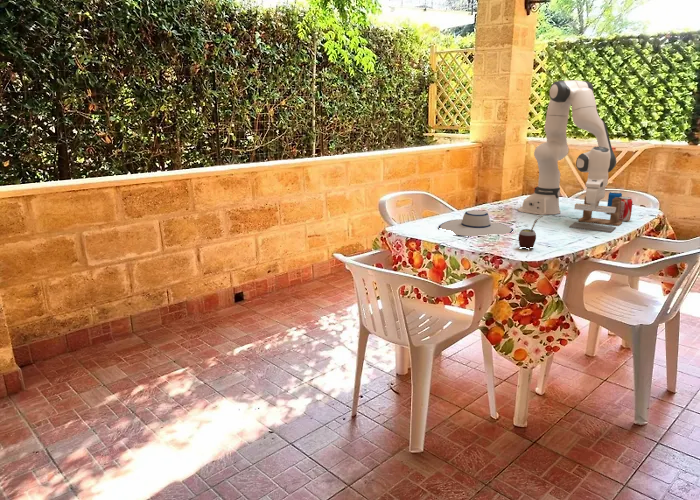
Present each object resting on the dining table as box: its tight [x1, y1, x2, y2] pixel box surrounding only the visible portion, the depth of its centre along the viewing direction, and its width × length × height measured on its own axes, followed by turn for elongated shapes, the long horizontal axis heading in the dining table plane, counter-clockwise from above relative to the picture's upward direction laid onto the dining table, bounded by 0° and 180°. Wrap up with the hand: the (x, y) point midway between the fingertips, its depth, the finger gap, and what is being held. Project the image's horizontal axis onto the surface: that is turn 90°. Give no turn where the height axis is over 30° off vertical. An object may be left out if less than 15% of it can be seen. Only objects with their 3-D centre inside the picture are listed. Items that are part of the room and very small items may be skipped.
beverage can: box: [606, 190, 623, 215], centre depth 281 cm, size 6×6×12 cm
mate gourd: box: [518, 215, 544, 248], centre depth 219 cm, size 8×8×15 cm
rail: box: [574, 202, 616, 214], centre depth 251 cm, size 18×3×2 cm, turn 52°
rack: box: [578, 195, 624, 227], centre depth 263 cm, size 19×8×13 cm, turn 52°
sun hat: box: [438, 209, 514, 238], centre depth 256 cm, size 36×36×9 cm
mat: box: [568, 221, 617, 234], centre depth 253 cm, size 19×10×1 cm, turn 52°
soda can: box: [619, 196, 633, 223], centre depth 265 cm, size 7×7×12 cm
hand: (594, 210), depth 251 cm, fingers closed on rail, 3 cm apart
